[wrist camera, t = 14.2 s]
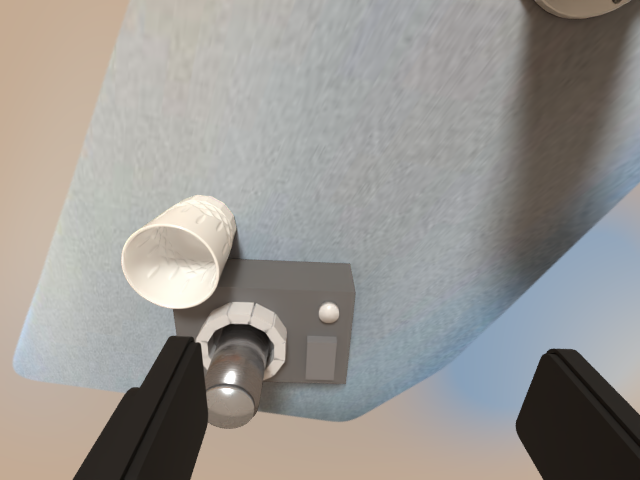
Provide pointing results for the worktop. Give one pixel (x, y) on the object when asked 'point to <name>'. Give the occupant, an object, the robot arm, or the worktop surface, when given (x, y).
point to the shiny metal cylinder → (236, 375)
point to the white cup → (180, 253)
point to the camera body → (281, 316)
